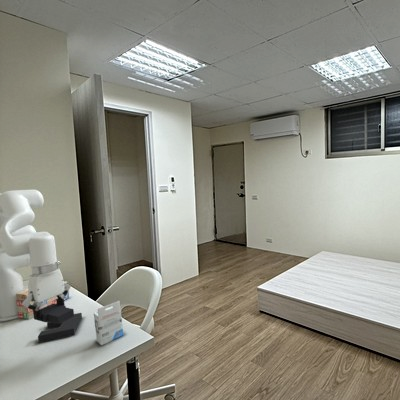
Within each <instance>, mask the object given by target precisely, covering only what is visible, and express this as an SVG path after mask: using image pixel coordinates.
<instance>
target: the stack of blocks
mask: <svg viewBox="0 0 400 400" xmlns="http://www.w3.org/2000/svg"><path fill="white" fill-rule="evenodd" d="M63 281H64V280H63ZM64 283H65V284H68V285H69V282H68V281H64ZM69 292H70V290H69V291H68V293H67V295H66V296H65V299H64V301H65V300H67V299H70V293H69ZM27 297H28V287H27V288H26V289H25V288H24V290H23V291H20V292H18V293H16V298H17V300H16V302H17V309H18V318H17V319H24V320H30V319H32V318H34V315H33V310H31V309H29V308H27V307H24V306H22V303H23V302H24V300H25V299H26V298H27ZM57 299H58V298H57V297H56V296H55V297H53V298H50V299H48V300H45V301H43V302H42V304H41V306H40V309H42V308H44V307H46V306H49V305H51V304H53V303H54V304H57V301H56V300H57ZM33 302H34V301H30V304H31V305H32V304H33Z"/></svg>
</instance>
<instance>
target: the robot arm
mask: <svg viewBox="0 0 400 400" xmlns="http://www.w3.org/2000/svg"><path fill="white" fill-rule="evenodd" d="M44 199H45V198H44V196H43V194H42V193H41V192H40V190H38V189H15V190H14V189H13V190H6V191H4V192H0V250H1V251H0V322H9V321H13V320H16V319H19V318H18V309H17V302H16V300H17V298H16V293H18V292H20V291H23V290H25V288H24V280H23V275H21V273H20V272H18V271H15V270H17V269H20V268H23V267H28V266H30V267H31V269H30V270H31V274H30V275H28V282H27V288H28V297H27V298H26V299H25V300H24V302H23V303H22V306H24V307H27V308H29V309H31V310H33V315H34V317H33V320H35V321H38V320H39V322H42V321H41V320H42V310H41V309H40V306H41V304H42V302H43V301H45V300H48V299H50V298H53V297H55V296H56V297H57V298H58V299H57V300H56V301H57V304H59V305H63V306H66V305H65V300H64V299H65V296H66V295H67V293H68V291H69V292H70V289H71V287H72V286H71V285H70V284H69V283H68V284H65V283H64V278H63V275H62V271H61V269H60V268H59V265H61V263H62V262H61V261H60V260H58V257H57V249H56V247H57V246H56V238H55V236H54V235H53V234H51V233H49V231H38V232H37V231H36V228H35V227H34V225H31V224H32V223H33V222H34V220H35V218H36V215H35V212H34V210H37V209H41V208H42V207H43V206H44V203H45V202H44V201H45V200H44ZM30 301H34V302H33V304H32V305H31V304H30Z"/></svg>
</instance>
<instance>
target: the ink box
mask: <svg viewBox="0 0 400 400" xmlns="http://www.w3.org/2000/svg"><path fill="white" fill-rule="evenodd" d="M93 320H94V327H95V328H94V329H95V336H96V343H98V344H99V345H100V346H103V345H105V344H108V343H109V342H111V341H114V340H115V339H118V338H120V337H122V336H124V329H123V328H124V327H123V317H122V309H121V302H120V300H117V301H115V302H112V303H109V304H107V305H104V306H102V307H99V308H97V311H96V312H93Z"/></svg>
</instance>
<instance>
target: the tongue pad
mask: <svg viewBox="0 0 400 400" xmlns="http://www.w3.org/2000/svg"><path fill="white" fill-rule="evenodd" d="M41 310H42V320H41V321H39V320H37V321H39V322H42V323H46V324H47V322H52V323H56V324H60V323H62V322H64V321H66V320H68V319H70V318H72V317H74V314H75V310H74V308H70V307H67V306H66V305H65V306H63V305H59V304H54V303H53V304H51V305H49V306H46V307H44V308H42V309H41Z"/></svg>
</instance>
